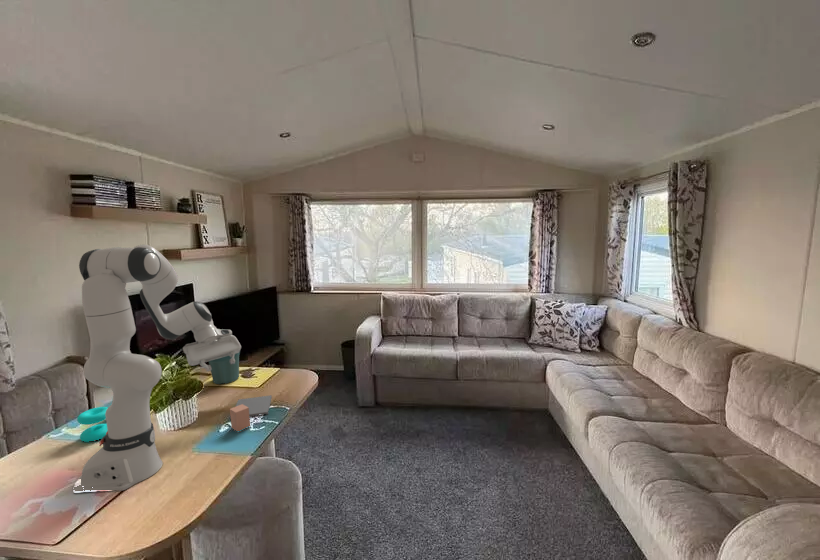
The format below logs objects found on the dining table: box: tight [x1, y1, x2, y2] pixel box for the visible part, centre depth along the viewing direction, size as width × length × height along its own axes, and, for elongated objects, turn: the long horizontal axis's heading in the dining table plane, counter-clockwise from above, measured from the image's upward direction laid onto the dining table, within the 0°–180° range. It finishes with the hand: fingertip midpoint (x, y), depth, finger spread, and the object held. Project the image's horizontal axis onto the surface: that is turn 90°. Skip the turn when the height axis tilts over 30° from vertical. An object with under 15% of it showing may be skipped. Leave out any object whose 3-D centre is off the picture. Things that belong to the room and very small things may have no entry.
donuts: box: [77, 406, 109, 443], centre depth 145 cm, size 10×10×10 cm
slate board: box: [235, 395, 273, 417], centre depth 166 cm, size 14×17×1 cm
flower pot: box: [208, 350, 241, 385], centre depth 198 cm, size 16×16×16 cm
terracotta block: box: [229, 404, 251, 432], centre depth 148 cm, size 5×5×8 cm
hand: (221, 366), depth 154 cm, fingers open, 8 cm apart
